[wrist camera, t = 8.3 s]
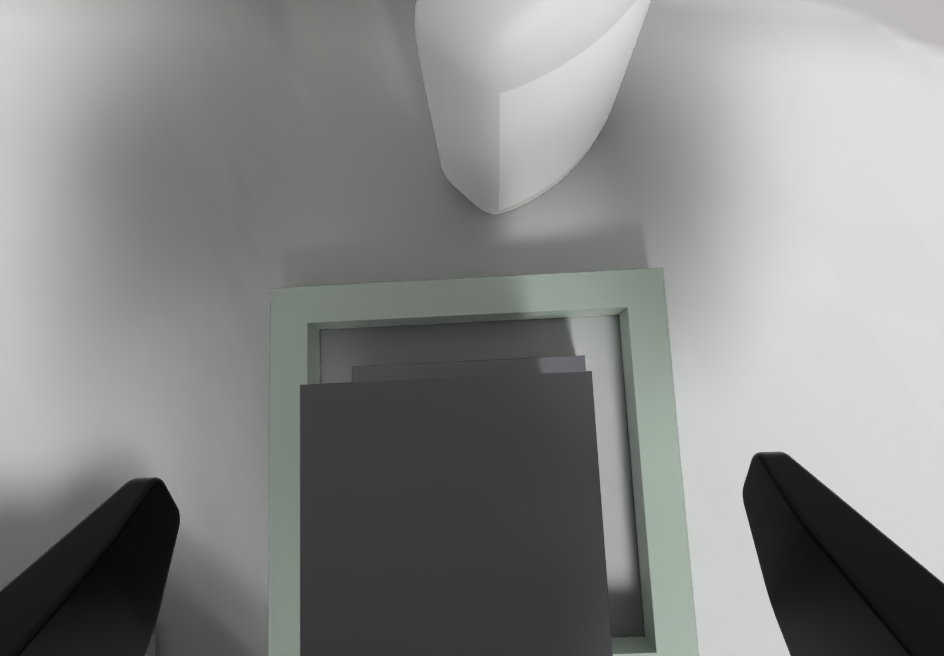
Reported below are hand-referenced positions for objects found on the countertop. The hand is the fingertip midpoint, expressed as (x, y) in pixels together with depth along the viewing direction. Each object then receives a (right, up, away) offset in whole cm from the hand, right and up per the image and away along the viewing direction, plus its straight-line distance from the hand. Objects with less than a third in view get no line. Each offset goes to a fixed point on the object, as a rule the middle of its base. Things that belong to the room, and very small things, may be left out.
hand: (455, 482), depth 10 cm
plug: (0, -2, +8) cm, 8 cm away
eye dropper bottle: (+2, +8, +9) cm, 12 cm away
